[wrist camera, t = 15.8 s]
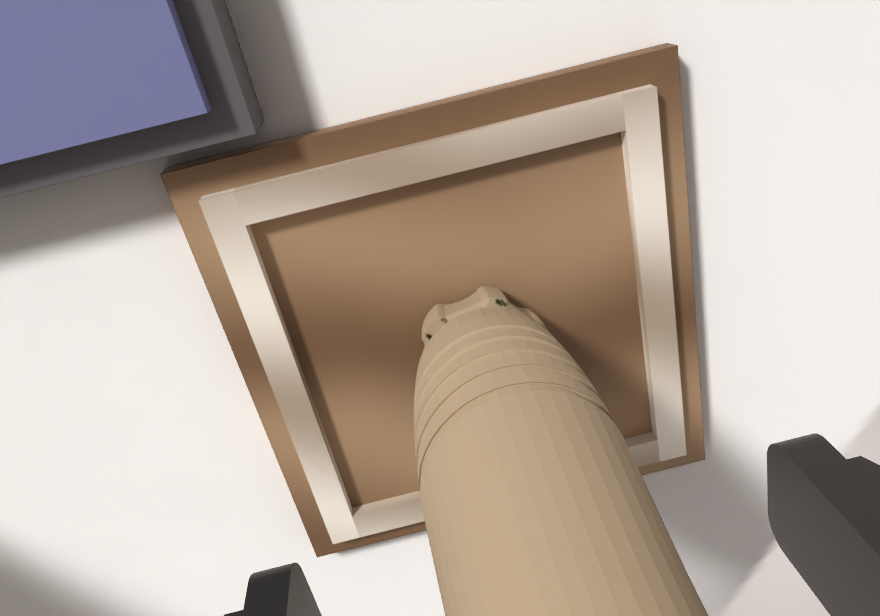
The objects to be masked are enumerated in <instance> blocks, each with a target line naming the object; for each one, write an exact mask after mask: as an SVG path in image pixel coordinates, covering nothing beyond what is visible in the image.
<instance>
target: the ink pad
mask: <svg viewBox="0 0 880 616" xmlns="http://www.w3.org/2000/svg"><path fill="white" fill-rule="evenodd" d="M263 122H264V119H263V116H262V113H261V110H260V106H259V103H258V100H257V97H256V94H255V91H254V88H253V85H252V82H251V79H250V76H249V73H248V70H247V67H246V64H245V61H244V58H243V55H242V52H241V49H240V46H239V43H238V40H237V37H236V34H235V31H234V28H233V25H232V22H231V19H230V16H229V13H228V10H227V7H226V4H225V0H0V198H1V197H5V196H9V195H13V194H17V193H21V192H25V191H29V190H33V189H37V188H41V187H45V186H49V185H53V184H57V183H61V182H65V181H69V180H73V179H77V178H81V177H85V176H89V175H93V174H97V173H101V172H105V171H109V170H113V169H117V168H121V167H125V166H129V165H133V164H137V163H141V162H145V161H149V160H153V159H157V158H161V157H165V156H169V155H173V154H177V153H181V152H185V151H189V150H193V149H197V148H201V147H205V146H209V145H213V144H217V143H221V142H225V141H229V140H233V139H237V138H241V137H245V136H249V135H253V134H256V133H257V131H258V130H259V128H260V127H261V125H262V123H263Z"/></svg>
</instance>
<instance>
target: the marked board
mask: <svg viewBox="0 0 880 616" xmlns="http://www.w3.org/2000/svg"><path fill="white" fill-rule="evenodd" d="M160 175H161V177H162V180H163V182H164V185H165V187H166V190H167V192H168V194H169V197H170V199H171V202H172V204H173V207H174V209H175V212H176V214H177V216H178V219H179V221H180V224H181V226H182V229H183V231H184V233H185V236H186V238H187V241H188V243H189V246H190V248H191V251H192V253H193V255H194V258H195V260H196V263H197V265H198V268H199V270H200V273H201V275H202V277H203V280H204V282H205V285H206V287H207V290H208V292H209V294H210V297H211V299H212V302H213V304H214V307H215V309H216V312H217V314H218V316H219V319H220V321H221V324H222V326H223V329H224V331H225V334H226V336H227V338H228V341H229V343H230V346H231V348H232V351H233V353H234V356H235V358H236V360H237V363H238V365H239V368H240V370H241V373H242V375H243V377H244V380H245V382H246V385H247V387H248V390H249V392H250V395H251V397H252V399H253V402H254V404H255V407H256V409H257V412H258V414H259V417H260V419H261V421H262V424H263V426H264V429H265V431H266V434H267V436H268V439H269V441H270V443H271V446H272V448H273V451H274V453H275V456H276V458H277V460H278V463H279V465H280V468H281V470H282V473H283V475H284V478H285V480H286V482H287V485H288V487H289V490H290V492H291V495H292V497H293V500H294V502H295V504H296V507H297V509H298V512H299V514H300V517H301V519H302V522H303V524H304V526H305V529H306V531H307V534H308V536H309V539H310V541H311V543H312V546H313V548H314V551H315V553H316V556H317V557H320V556H324V555H328V554H332V553H336V552H340V551H344V550H348V549H352V548H356V547H360V546H364V545H368V544H372V543H376V542H380V541H384V540H388V539H392V538H395V537H399V536H403V535H407V534H411V533H415V532H419V531H423V530H427V529H426V524H425V520H424V515H423V510H422V506H421V498H420V491H419V483H418V473H417V465H416V455H415V443H414V395H415V382H416V375H417V369H418V364H419V361H420V358H421V355H422V353H423V350H424V348H425V344H424V342H423V341H422V326H423V322H424V319H425V317H426V315H427V314H428V312H429V311H430V310H431V309H432V308H433V307H434V306H435V305H437V304H445V305H446V304H452V303H455V302H458V301H461V300H463V299H465V298H467V297H469V296H471V295H472V294H473V293H475V292H476V291H477V289H478V288H479V287H481V286H491V287H497V288H498V289H499V290H500V291H501V292H502V293H503V294H504V295H505V297H506V298H507V300H508V301H509V302H510V303H511V304H513V305H515V306H517V307H520V308H528V309H530V310H531V311H532V312H534V313H535V314H536V315H537V316H538V317H539V318H540V320H541V321H542V322H543V323H544V325H545V326H546V328H547V330H548V332H550V333H551V334H552V335H553V336H554V338H555V339H556V340H557V341H558V342H559V343H560V344H561V345H562V346H563V347H564V348H565V349H566V351H567V352H568V353H569V354H570V356H571V357H572V358H573V359H574V360H575V362H576V363H577V364H578V365H579V367H580V368H581V370H582V371H583V372H584V373H585V375H586V376H587V377H588V379H589V380H590V382H591V384H592V385H593V386H594V388H595V390H596V391H597V393H598V394H599V396H600V398H601V400H602V401H603V403H604V405H605V406H606V408H607V410H608V411H609V413H610V415H611V416H612V418H613V420H614V422H615V423H616V425H617V427H618V429H619V430H620V432H621V434H622V436H623V438H624V440H625V442H626V444H627V446H628V448H629V450H630V453H631V455H632V457H633V459H634V461H635V463H636V465H637V468H638V470H639V472H640V474H641V475H645V474H649V473H653V472H657V471H661V470H665V469H669V468H673V467H677V466H681V465H685V464H689V463H693V462H697V461H701V460H704V459H705V452H704V437H703V421H702V406H701V391H700V376H699V361H698V346H697V331H696V316H695V301H694V286H693V271H692V256H691V241H690V225H689V210H688V195H687V180H686V165H685V150H684V135H683V120H682V105H681V90H680V75H679V60H678V45H673V44H669V43H665V44H661V45H657V46H653V47H649V48H645V49H641V50H637V51H633V52H629V53H625V54H621V55H617V56H613V57H609V58H605V59H601V60H597V61H593V62H589V63H585V64H581V65H577V66H573V67H569V68H565V69H561V70H557V71H553V72H549V73H545V74H541V75H537V76H533V77H529V78H525V79H521V80H517V81H513V82H509V83H505V84H501V85H497V86H493V87H489V88H485V89H481V90H477V91H473V92H469V93H465V94H461V95H457V96H453V97H449V98H445V99H441V100H437V101H433V102H429V103H425V104H421V105H417V106H413V107H409V108H405V109H401V110H397V111H393V112H389V113H385V114H381V115H377V116H373V117H369V118H365V119H361V120H357V121H353V122H349V123H345V124H341V125H337V126H333V127H329V128H325V129H321V130H317V131H313V132H309V133H305V134H301V135H297V136H293V137H289V138H285V139H281V140H277V141H273V142H269V143H265V144H261V145H257V146H253V147H249V148H245V149H241V150H237V151H233V152H229V153H225V154H221V155H217V156H213V157H209V158H205V159H201V160H197V161H193V162H189V163H185V164H181V165H177V166H173V167H169V168H166V169H165V170H164V171H163V172H162V173H161V174H160Z"/></svg>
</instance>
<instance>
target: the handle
mask: <svg viewBox="0 0 880 616" xmlns="http://www.w3.org/2000/svg"><path fill="white" fill-rule="evenodd" d="M422 341H423V342H424V344H425V348H424V350H423V353H422V355H421V358H420V361H419V364H418V369H417V375H416V382H415V395H414V443H415V455H416V465H417V473H418V483H419V491H420V498H421V506H422V510H423V515H424V520H425V524H426V529H427V533H428V538H429V543H430V547H431V552H432V556H433V561H434V566H435V570H436V575H437V579H438V584H439V589H440V593H441V598H442V602H443V607H444V611H445V616H708V614H707V612H706V610H705V608H704V606H703V604H702V602H701V600H700V598H699V596H698V594H697V592H696V590H695V588H694V586H693V584H692V582H691V580H690V578H689V576H688V574H687V572H686V570H685V568H684V566H683V564H682V561H681V559H680V557H679V555H678V553H677V551H676V549H675V546H674V544H673V542H672V540H671V538H670V536H669V534H668V532H667V529H666V527H665V525H664V523H663V521H662V519H661V517H660V514H659V512H658V510H657V508H656V506H655V504H654V502H653V500H652V497H651V495H650V493H649V491H648V489H647V487H646V485H645V482H644V480H643V478H642V476H641V474H640V472H639V470H638V468H637V465H636V463H635V461H634V459H633V457H632V455H631V453H630V450H629V448H628V446H627V444H626V442H625V440H624V438H623V436H622V434H621V432H620V430H619V429H618V427H617V425H616V423H615V422H614V420H613V418H612V416H611V415H610V413H609V411H608V410H607V408H606V406H605V405H604V403H603V401H602V400H601V398H600V396H599V394H598V393H597V391H596V390H595V388H594V386H593V385H592V384H591V382H590V380H589V379H588V377H587V376H586V375H585V373H584V372H583V371H582V370H581V368H580V367H579V365H578V364H577V363H576V362H575V360H574V359H573V358H572V357H571V356H570V354H569V353H568V352H567V351H566V349H565V348H564V347H563V346H562V345H561V344H560V343H559V342H558V341H557V340H556V339H555V338H554V336H553V335H552V334H551V333H550V332H548V330H547V328H546V326H545V325H544V323H543V322H542V321H541V320H540V318H539V317H538V316H537V315H536V314H535V313H534V312H532V311H531V310H530V309H528V308H520V307H517V306H515V305H513V304H511V303H510V302H509V301H508V300H507V298H506V297H505V295H504V294H503V293H502V292H501V291H500V290H499V289H498V288H497V287H491V286H481V287H479V288H478V289H477V291H476V292H475V293H473V294H472V295H471V296H469V297H467V298H465V299H463V300H461V301H458V302H455V303H452V304H446V305H445V304H437V305H435V306H434V307H433V308H432V309H431V310H430V311H429V312H428V314H427V315H426V317H425V319H424V322H423V326H422Z"/></svg>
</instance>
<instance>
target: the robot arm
mask: <svg viewBox="0 0 880 616" xmlns="http://www.w3.org/2000/svg"><path fill="white" fill-rule="evenodd" d="M767 482H768V516H769V521H770V525H771V528H772V531H773V534H774V536H775V538H776V540H777V542H778V544H779V546H780V548H781V549H782V551H783V552H784V553H785V555H786V556H787V557H788V559H789V560H790V562H791V563H792V564H793V566H794V567H795V568H796V570H797V571H798V572H799V574H800V575H801V576H802V578H803V579H804V580H805V582H806V583H807V584H808V586H809V587H810V588H811V590H812V591H813V592H814V594H815V595H816V596H817V598H818V599H819V600H820V602H821V603H822V604H823V606H824V607H825V608H826V610H827V611H828V613H829V614H830V615H831V616H880V465H878V464H876V463H874V462H871V461H870V460H868V459H866V458H864V457H862V456H859V457H855V458H851V459H847V460H846V459H845V458H844V457H843V456H842V455H841V454H840V453H839V452H838V451H837V450H836V449H835V448H834V447H833V446H832V445H831V444H830V443H829V442H828V441H827V440H826V439H825V438H824V437H822V436H821V435H819V434H810V435H806V436H802V437H798V438H794V439H790V440H787V441H783V442H779V443H775V444H771V445H770V446H769V448H768V451H767ZM224 616H322V615H321V613H320V611H319V608H318V606H317V604H316V601H315V599H314V597H313V594H312V592H311V590H310V587H309V585H308V583H307V580H306V578H305V576H304V573H303V571H302V569H301V567H300V566H299V564H298V563H292V564H288V565H284V566H280V567H276V568H272V569H268V570H264V571H260V572H256V573H253V574H252V575H251V576H250V578H249V582H248V587H247V592H246V598H245V604H244V610H241V611H237V612H233V613H229V614H225V615H224Z"/></svg>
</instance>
